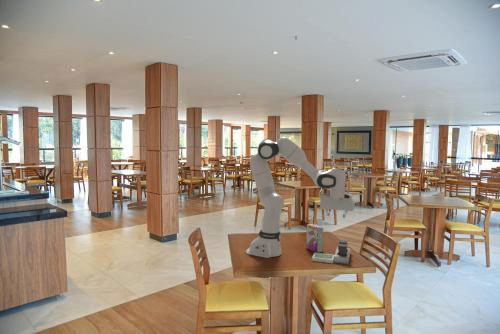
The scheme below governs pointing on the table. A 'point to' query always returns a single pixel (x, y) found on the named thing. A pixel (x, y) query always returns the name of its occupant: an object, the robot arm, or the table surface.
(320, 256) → the plug tray
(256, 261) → the table surface
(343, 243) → the seated twin plug
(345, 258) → the pdu strip
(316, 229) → the candy bar box
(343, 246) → the black plug
